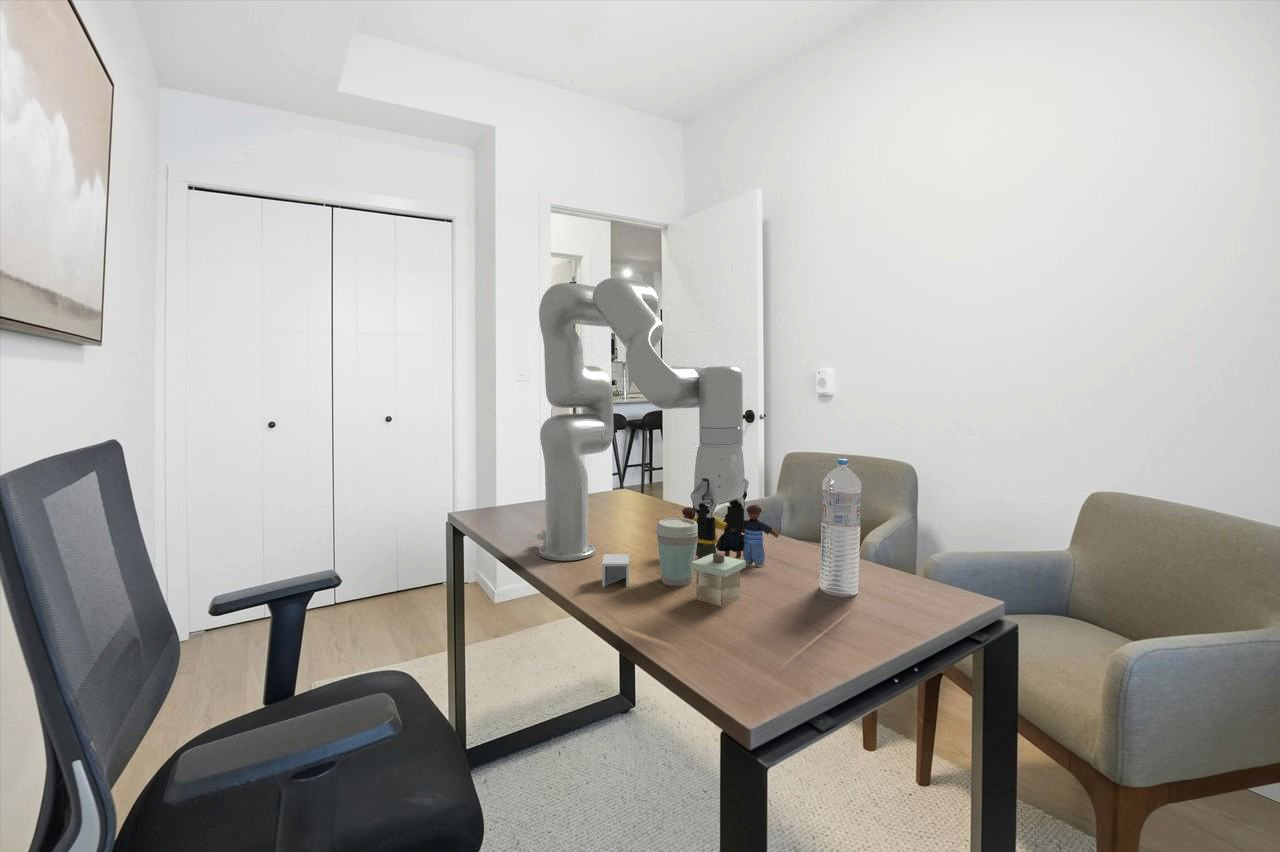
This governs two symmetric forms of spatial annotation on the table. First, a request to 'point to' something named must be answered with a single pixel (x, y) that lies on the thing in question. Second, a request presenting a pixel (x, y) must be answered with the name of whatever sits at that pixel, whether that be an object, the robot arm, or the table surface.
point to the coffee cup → (677, 550)
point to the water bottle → (840, 532)
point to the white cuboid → (615, 568)
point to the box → (717, 588)
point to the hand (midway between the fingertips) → (721, 534)
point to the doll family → (736, 538)
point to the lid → (718, 564)
